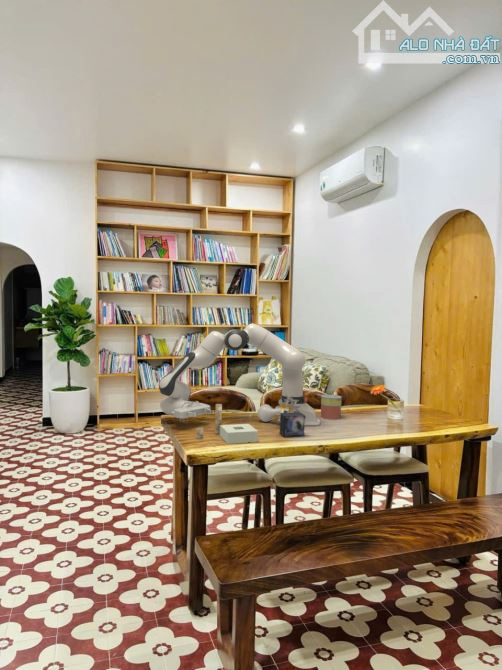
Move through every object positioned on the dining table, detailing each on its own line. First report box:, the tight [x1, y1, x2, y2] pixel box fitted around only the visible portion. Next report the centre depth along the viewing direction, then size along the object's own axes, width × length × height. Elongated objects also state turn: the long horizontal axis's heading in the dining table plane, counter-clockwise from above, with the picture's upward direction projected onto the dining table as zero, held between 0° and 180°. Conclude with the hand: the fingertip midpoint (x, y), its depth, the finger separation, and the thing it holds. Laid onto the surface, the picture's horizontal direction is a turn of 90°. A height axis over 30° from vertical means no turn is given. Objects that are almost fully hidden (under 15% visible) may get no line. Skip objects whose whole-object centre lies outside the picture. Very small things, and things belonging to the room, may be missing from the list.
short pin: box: [195, 427, 204, 440], centre depth 220 cm, size 3×3×4 cm
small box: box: [278, 412, 305, 438], centre depth 229 cm, size 11×6×10 cm, turn 106°
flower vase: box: [256, 394, 301, 423], centre depth 249 cm, size 13×18×25 cm
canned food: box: [320, 394, 343, 421], centre depth 269 cm, size 11×11×12 cm
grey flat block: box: [219, 423, 259, 445], centre depth 221 cm, size 14×14×5 cm
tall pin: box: [214, 403, 223, 435], centre depth 229 cm, size 3×3×14 cm
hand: (203, 413), depth 236 cm, fingers open, 8 cm apart
